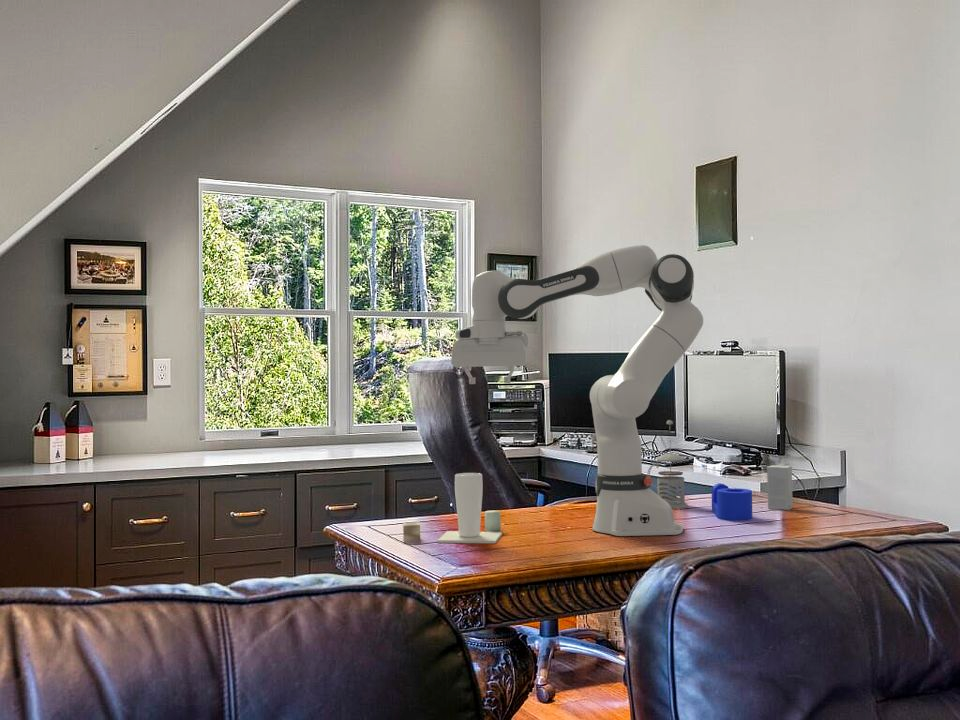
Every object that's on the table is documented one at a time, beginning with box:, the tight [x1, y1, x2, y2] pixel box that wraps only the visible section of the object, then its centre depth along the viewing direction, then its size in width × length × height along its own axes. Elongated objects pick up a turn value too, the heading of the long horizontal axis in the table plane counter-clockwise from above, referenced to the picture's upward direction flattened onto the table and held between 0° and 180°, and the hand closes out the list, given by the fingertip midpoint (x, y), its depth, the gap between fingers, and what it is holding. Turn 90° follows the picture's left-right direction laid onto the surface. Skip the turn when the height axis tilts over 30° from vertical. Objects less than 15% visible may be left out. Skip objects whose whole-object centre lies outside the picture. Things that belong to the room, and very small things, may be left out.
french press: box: [647, 419, 689, 509], centre depth 279 cm, size 10×12×25 cm
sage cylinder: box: [484, 510, 502, 532], centre depth 242 cm, size 4×4×5 cm
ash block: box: [402, 521, 421, 543], centre depth 232 cm, size 4×4×4 cm
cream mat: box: [437, 530, 503, 544], centre depth 233 cm, size 14×12×1 cm
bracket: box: [711, 482, 753, 522], centre depth 261 cm, size 20×9×8 cm, turn 0°
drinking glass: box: [454, 472, 484, 537], centre depth 233 cm, size 7×7×15 cm
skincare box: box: [766, 464, 794, 511], centre depth 270 cm, size 6×4×12 cm
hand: (489, 383), depth 254 cm, fingers open, 8 cm apart
